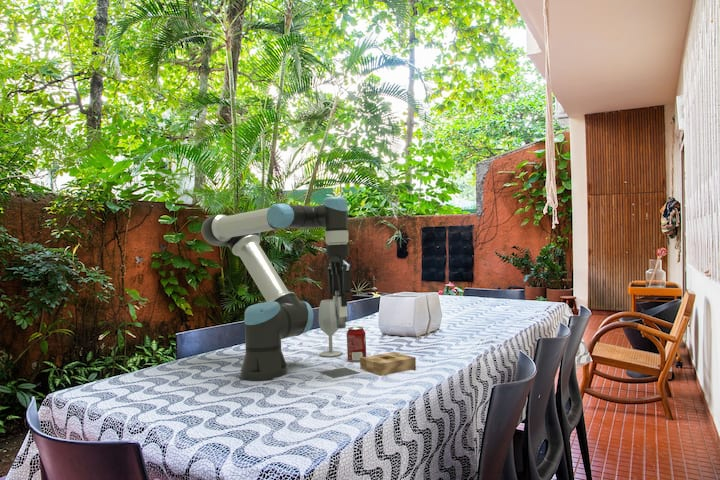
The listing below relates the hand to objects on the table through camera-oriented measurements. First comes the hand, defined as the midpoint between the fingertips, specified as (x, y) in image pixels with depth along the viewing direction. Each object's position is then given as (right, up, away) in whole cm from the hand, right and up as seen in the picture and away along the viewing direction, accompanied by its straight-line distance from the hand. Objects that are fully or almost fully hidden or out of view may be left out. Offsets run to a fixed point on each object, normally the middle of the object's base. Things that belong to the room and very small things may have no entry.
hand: (340, 316), depth 164 cm
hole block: (+16, -18, +3) cm, 24 cm away
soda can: (+5, -19, +17) cm, 26 cm away
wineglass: (-5, -20, +30) cm, 36 cm away
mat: (0, -19, 0) cm, 19 cm away
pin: (0, -4, 0) cm, 4 cm away
